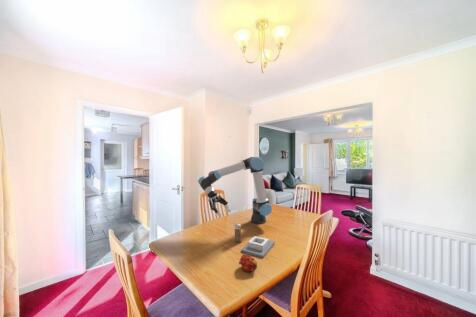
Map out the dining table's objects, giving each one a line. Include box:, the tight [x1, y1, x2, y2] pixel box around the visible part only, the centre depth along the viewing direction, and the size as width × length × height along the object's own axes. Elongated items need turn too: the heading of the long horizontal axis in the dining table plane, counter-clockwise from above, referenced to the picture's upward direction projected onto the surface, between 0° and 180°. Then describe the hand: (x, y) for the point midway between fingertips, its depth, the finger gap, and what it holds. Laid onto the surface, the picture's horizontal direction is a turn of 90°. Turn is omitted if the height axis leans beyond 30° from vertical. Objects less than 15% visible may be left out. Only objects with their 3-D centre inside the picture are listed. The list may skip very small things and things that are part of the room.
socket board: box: [240, 235, 276, 259], centre depth 130 cm, size 22×16×5 cm
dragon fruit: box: [238, 253, 258, 273], centre depth 105 cm, size 8×8×12 cm
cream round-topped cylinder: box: [234, 223, 242, 244], centre depth 138 cm, size 4×4×13 cm
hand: (225, 213), depth 146 cm, fingers open, 13 cm apart
